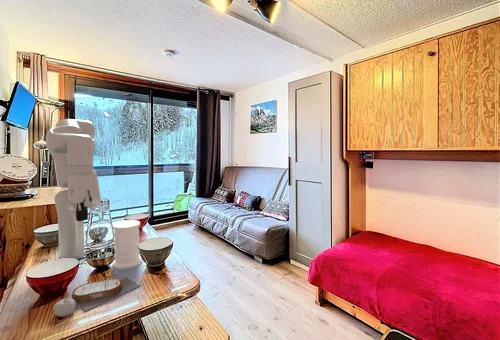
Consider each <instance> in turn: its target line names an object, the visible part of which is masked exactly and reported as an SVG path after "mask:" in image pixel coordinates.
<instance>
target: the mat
mask: <svg viewBox="0 0 500 340" xmlns="http://www.w3.org/2000/svg"><path fill="white" fill-rule="evenodd" d="M119 280H121V281H122V287H123V289H122V291H121V292H120V293H119V294H117V295H115V296H112V297H109V298H104V299H100V300H95V301H90V302H86V303H76V305H78V307H80V308H81V309H82V311H84V312H85V313H86V312H88V311H90V310H92V309H94V308H97V307H99V306H101V305H103V304H107V302H110V301H112V300H115V299H117V298H119V297H122V296H123V295H125V294H127V293H129V292H131V291H132V292H133V291H134V290H136V289H138V288H140V287H141V285H140V284H138V283H137V282H136V281H134V280H132V279H130V277H127V276H125V277H122V278H121V279H119Z"/></svg>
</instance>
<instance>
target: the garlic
mask: <svg viewBox="0 0 500 340" xmlns="http://www.w3.org/2000/svg"><path fill="white" fill-rule="evenodd" d="M76 307H77V303H76V302H75V301H74V299H72V296H69V297H65V298H63V299H62V298H61V300H59V301H57V302H56V303H54V305H53V313H54V315H55V316H58V317H67V316H70V315H71V314H72V313H74V311H75V309H76Z"/></svg>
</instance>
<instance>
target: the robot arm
mask: <svg viewBox="0 0 500 340" xmlns="http://www.w3.org/2000/svg"><path fill="white" fill-rule="evenodd" d="M95 137H96V127H95V125H94V123H93V122H91V121H90V120H83V119H73V118H72V119H71V118H63V119H60V120H59V121H57V122H56V123H55V127H53V128H50V129H48V130H47V132H46V134H45V143H46V148H47V150H48V151H49V153H50V155H51V157H52V159H53V161H54V164H55V165H54V168H55V175H56V177H55V178H56V183H57V186H58V187H59V188H60V189H63V190H61V191H58V192H57V193H55V196H54V199H53V200H54V206H55V209H56V214H57V230H58V231H57V232H58V233H57V234H58V250H59V251H58V252H59V253H58V254H57V255H56V256H55V258H54V259H61V258H81V257H83V255H84V252H85V249H86V248H85V227H84V226H85V224H84V223H85V221H86V220H87V221H88V219H89V209H92V208H93V209H94V208H97V207H99V206H100V205H101V202H102V201H101V200H102V199H101V198H102V196H101V191H100V184H99V178H98V174H97V172H96V170H95V168H94V150H95V146H96V145H95Z"/></svg>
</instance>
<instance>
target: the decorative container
mask: <svg viewBox="0 0 500 340" xmlns="http://www.w3.org/2000/svg"><path fill="white" fill-rule="evenodd" d="M139 227H141V222H140V221H139V220H135V219H134V220H133V219H132V220H131V219H130V220H129V219H128V220H122V221H118V222H114V223H113V224H112V230H114V231H113V237H114V239H113V244H114V247H113V250H114V255H113V257H114V260H113V261H112V268H114V269H115V270H129V269H132V268H136V267H137V266H139V265H141V264H142V261H143V260H142V259H141V258H142V257H141V256H140V254H139V251H140V250H139V251H138V246H139V244H140V235H139V234H140V229H139ZM139 247H140V246H139Z"/></svg>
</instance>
